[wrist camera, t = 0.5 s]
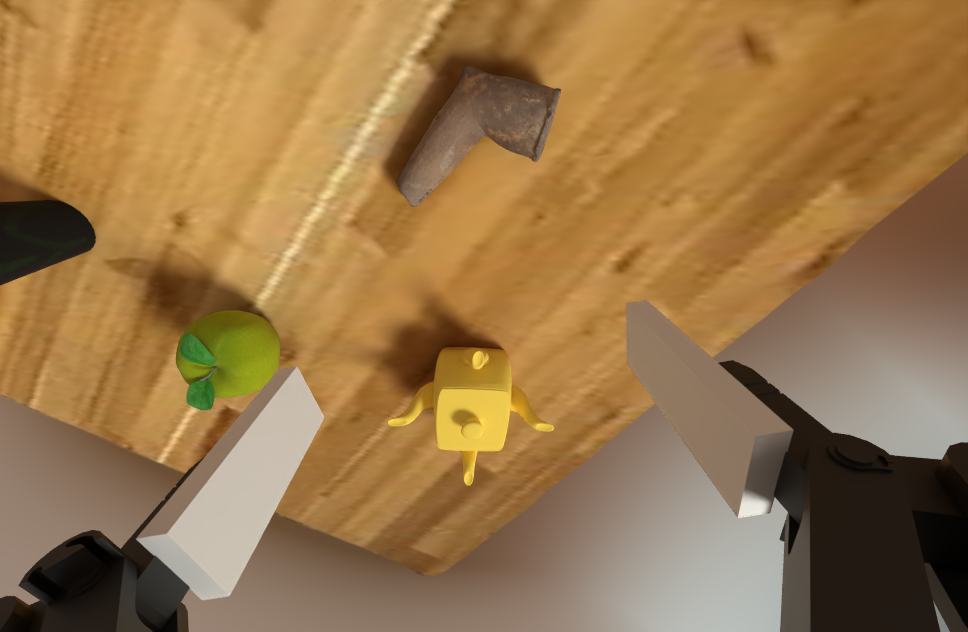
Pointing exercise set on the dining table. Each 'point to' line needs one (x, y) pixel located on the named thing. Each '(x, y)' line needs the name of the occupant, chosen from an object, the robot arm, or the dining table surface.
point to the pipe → (479, 127)
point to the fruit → (227, 356)
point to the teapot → (471, 402)
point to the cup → (40, 236)
